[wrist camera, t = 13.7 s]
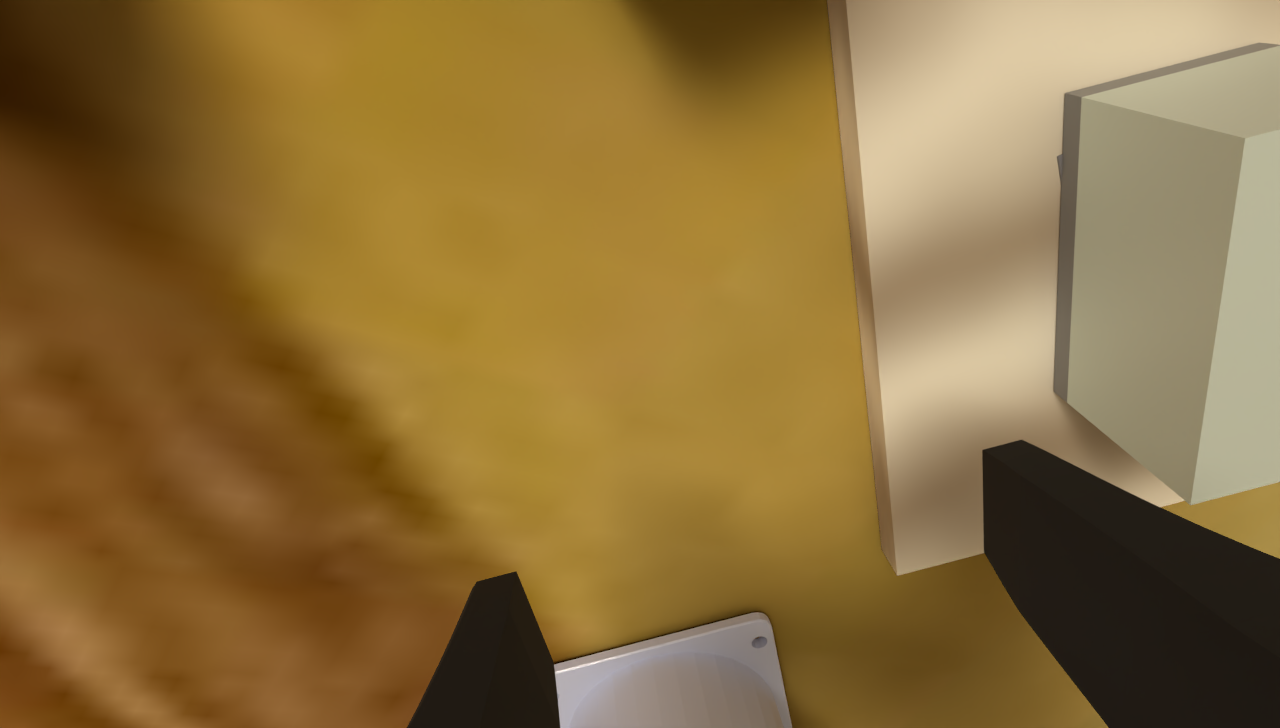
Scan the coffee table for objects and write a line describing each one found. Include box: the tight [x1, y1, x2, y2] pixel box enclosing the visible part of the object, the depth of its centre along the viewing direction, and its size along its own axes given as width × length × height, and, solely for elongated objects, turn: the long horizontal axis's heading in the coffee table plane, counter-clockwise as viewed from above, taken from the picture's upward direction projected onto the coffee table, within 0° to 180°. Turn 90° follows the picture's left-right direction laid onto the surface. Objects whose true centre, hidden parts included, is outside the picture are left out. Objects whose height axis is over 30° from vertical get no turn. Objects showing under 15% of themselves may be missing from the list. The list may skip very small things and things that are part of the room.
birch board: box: [827, 0, 1280, 576], centre depth 20 cm, size 18×14×1 cm
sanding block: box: [1054, 42, 1280, 505], centre depth 17 cm, size 8×4×5 cm, turn 13°
